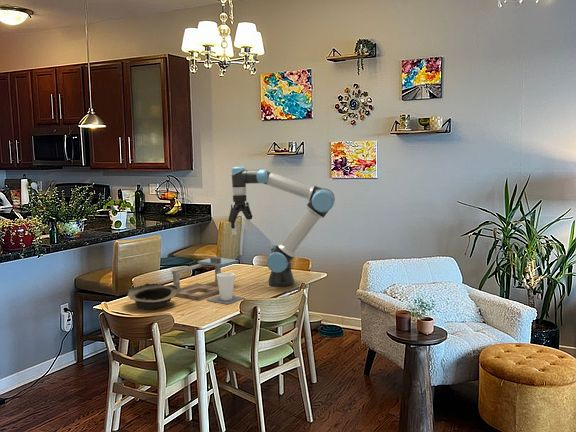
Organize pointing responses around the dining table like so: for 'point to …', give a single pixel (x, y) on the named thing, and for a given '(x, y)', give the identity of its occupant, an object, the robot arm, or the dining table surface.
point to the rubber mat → (218, 300)
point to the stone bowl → (152, 295)
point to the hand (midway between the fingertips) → (241, 232)
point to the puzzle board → (195, 285)
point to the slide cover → (218, 261)
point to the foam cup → (226, 285)
